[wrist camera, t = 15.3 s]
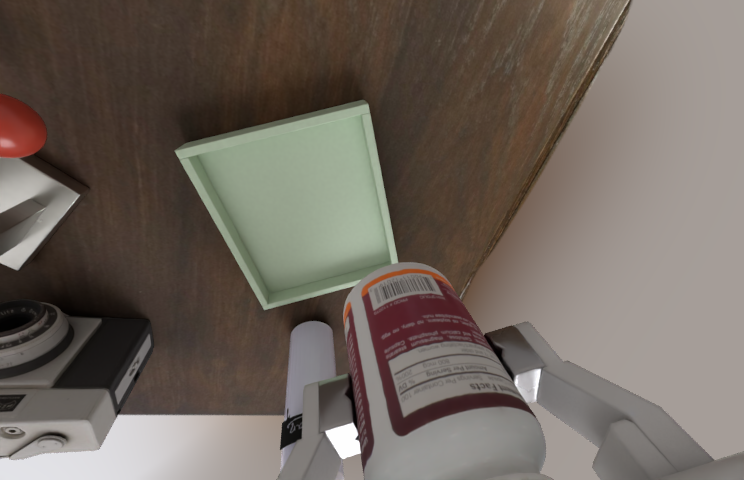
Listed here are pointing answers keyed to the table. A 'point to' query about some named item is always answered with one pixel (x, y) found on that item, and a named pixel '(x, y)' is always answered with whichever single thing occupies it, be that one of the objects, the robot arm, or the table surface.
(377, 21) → the table surface
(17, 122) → the lever
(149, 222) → the table surface
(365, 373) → the pill bottle
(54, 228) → the bracket
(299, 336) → the perfume bottle
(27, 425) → the camera
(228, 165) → the tray
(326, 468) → the robot arm
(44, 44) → the table surface
